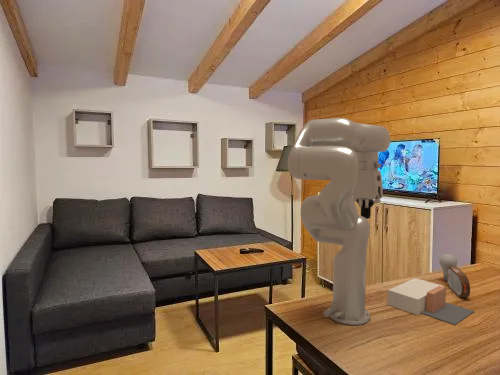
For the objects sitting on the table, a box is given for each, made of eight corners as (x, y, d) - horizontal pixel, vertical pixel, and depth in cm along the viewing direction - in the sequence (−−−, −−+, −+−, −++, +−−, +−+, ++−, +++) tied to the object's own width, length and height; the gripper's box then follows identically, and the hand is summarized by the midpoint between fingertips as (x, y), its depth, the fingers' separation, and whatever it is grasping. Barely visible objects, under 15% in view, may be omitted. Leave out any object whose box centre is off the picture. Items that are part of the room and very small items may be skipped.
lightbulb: (439, 277, 141) (440, 251, 140) (457, 280, 137) (458, 253, 136) (437, 282, 136) (438, 254, 135) (455, 285, 132) (456, 257, 131)
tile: (426, 310, 110) (432, 312, 108) (426, 292, 109) (433, 294, 108) (438, 303, 115) (445, 305, 114) (439, 285, 115) (446, 287, 113)
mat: (455, 325, 101) (455, 324, 101) (420, 313, 109) (420, 312, 109) (474, 311, 109) (474, 311, 109) (440, 301, 117) (440, 300, 117)
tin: (470, 301, 118) (471, 277, 117) (460, 300, 118) (461, 276, 118) (454, 285, 132) (455, 263, 132) (445, 285, 133) (445, 263, 132)
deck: (417, 315, 107) (418, 299, 107) (387, 304, 115) (387, 289, 115) (443, 300, 118) (444, 285, 118) (414, 291, 126) (414, 278, 126)
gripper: (392, 166, 118) (390, 220, 120) (354, 166, 130) (353, 214, 132) (380, 167, 114) (378, 222, 115) (342, 166, 126) (341, 216, 127)
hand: (365, 218), depth 123 cm, fingers closed
